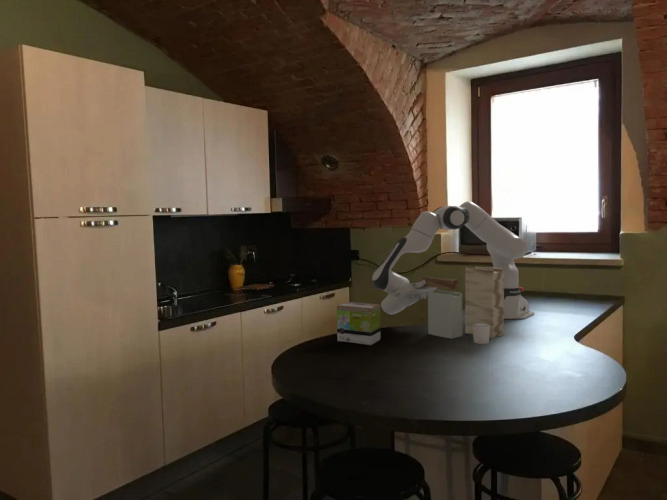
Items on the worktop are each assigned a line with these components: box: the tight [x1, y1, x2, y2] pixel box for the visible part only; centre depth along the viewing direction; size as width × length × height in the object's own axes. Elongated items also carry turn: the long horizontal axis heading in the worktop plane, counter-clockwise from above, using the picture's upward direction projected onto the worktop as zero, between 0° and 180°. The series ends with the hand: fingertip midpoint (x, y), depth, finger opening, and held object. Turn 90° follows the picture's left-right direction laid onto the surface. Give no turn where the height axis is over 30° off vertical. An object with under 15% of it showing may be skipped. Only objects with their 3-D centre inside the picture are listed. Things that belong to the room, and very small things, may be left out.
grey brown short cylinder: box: [472, 323, 490, 345], centre depth 208 cm, size 7×7×7 cm
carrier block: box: [427, 289, 463, 340], centre depth 221 cm, size 7×12×18 cm, turn 40°
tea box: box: [336, 301, 382, 346], centre depth 214 cm, size 15×10×15 cm, turn 62°
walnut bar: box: [417, 276, 459, 290], centre depth 222 cm, size 4×18×4 cm, turn 40°
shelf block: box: [464, 266, 505, 339], centre depth 221 cm, size 8×13×27 cm, turn 40°
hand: (429, 280), depth 226 cm, fingers closed on walnut bar, 3 cm apart
